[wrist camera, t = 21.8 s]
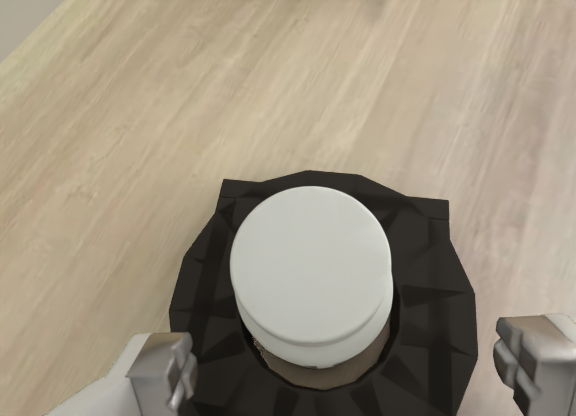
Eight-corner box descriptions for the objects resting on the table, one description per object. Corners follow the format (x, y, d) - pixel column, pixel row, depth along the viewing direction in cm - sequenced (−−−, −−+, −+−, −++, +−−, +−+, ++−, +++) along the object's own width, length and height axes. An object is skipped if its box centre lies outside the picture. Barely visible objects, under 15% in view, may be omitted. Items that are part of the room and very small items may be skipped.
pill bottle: (348, 246, 21) (368, 147, 12) (388, 351, 18) (450, 326, 9) (251, 275, 21) (196, 197, 12) (278, 385, 18) (235, 393, 9)
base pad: (463, 501, 16) (487, 522, 13) (155, 439, 18) (130, 447, 15) (454, 204, 21) (469, 183, 19) (220, 181, 23) (209, 160, 21)
